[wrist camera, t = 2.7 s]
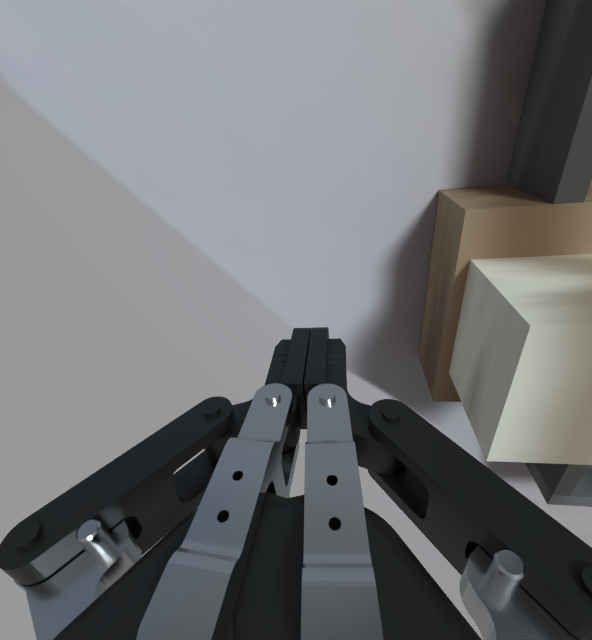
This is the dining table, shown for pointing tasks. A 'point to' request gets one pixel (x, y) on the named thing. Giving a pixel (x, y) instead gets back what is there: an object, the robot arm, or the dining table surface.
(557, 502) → the box
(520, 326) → the block
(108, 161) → the dining table surface
